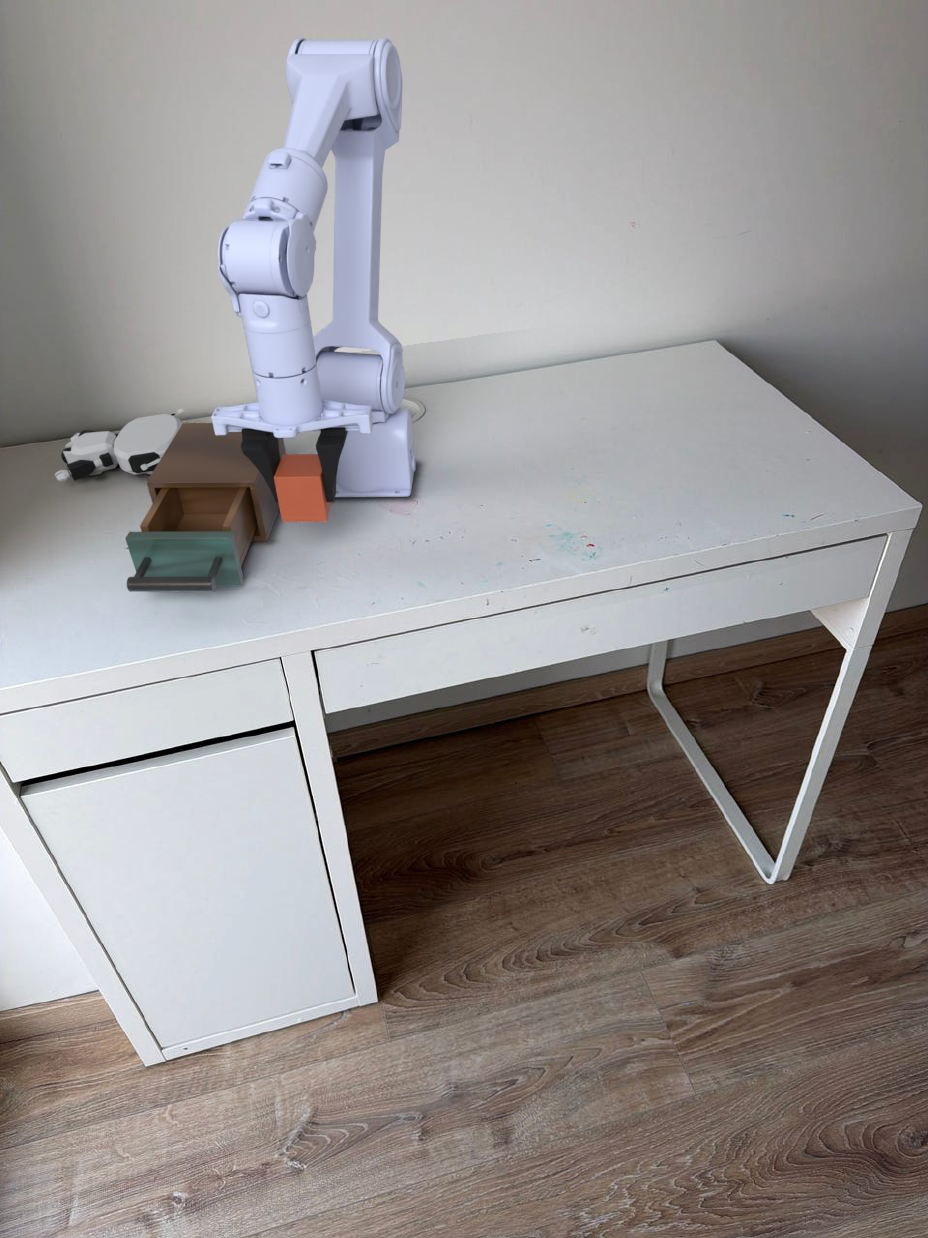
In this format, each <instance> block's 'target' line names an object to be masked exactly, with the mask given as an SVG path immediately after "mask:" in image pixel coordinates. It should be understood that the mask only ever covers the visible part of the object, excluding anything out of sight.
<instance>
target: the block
mask: <svg viewBox="0 0 928 1238" xmlns="http://www.w3.org/2000/svg"><path fill="white" fill-rule="evenodd" d="M274 481H275V486H276V491H277V497H278V502H279V507H280V508H279V512H280V513H279V514H280V518H281V522H282V523H308V522H309V523H310V522H311V523H317V522H319V523H320V522H321V523H324V522H325V523H327V522H328V518H329V515H330V511H331V508H332V504H333V502H327V501H326V496H325V491H324V481H323V473H322V469H321V464H320V460H319V457H318V454H317V453H293V454H292V453H291V454H290V453H288V454H287V453H286V454H283V455H282V458H281V460H280V463H279V465H278V468H277V470H276V473H275V476H274Z"/></svg>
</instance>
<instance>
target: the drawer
mask: <svg viewBox="0 0 928 1238" xmlns="http://www.w3.org/2000/svg"><path fill="white" fill-rule="evenodd" d="M257 525H258V524H257V519H256V514H255V509H254V504H253V500H252V495H251V490H250V487H229V488H162V489H161V490H160V492H159V494H158V495H157V497H156V499H155V501H154V502H153V503H152V504H151V505H150V508H149V509H148V511H147V513H146V514H145V516H144V518H143V520H142V521H141V523H140V524H139V528H140V531H129V532H128V533H127V534H126V536H125V542H126V544H127V548H128V551H129V554H130V558H131V560H132V564H133V566H134V570H135V574H134V575H133V576H128V577H127V579H126V589H127V591H128V592H130V593H131V592H132V593H135V592H141V593H142V592H147V593H151V592H152V593H154V592H155V593H157V592H158V593H159V592H160V593H163V592H165V593H167V592H168V593H169V592H170V593H172V592H174V593H175V592H177V593H179V592H181V593H183V592H185V593H187V592H188V593H189V592H192V593H193V592H199V593H201V592H202V593H203V592H205V593H206V592H207V593H210V592H212V593H213V592H214V591H215V590H216V586H217V587H219V586H223V587H225V586H226V587H227V586H228V587H230V586H235V587H236V586H237V587H238V586H239V587H241V586H242V585H243V581H244V579H245V578H244V573H243V570H242V566H243V563H244V560H245V558H246V555H247V553H248V550H249V548H250V545H251V543H252V541H251V540H252V538H253V535H254V533H255V530H256V528H257Z"/></svg>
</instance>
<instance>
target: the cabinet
mask: <svg viewBox="0 0 928 1238" xmlns="http://www.w3.org/2000/svg"><path fill="white" fill-rule="evenodd" d="M284 439H285V438H278V443H279V452H280V460H281V458H282V455H283V454H287V452H286V451H287V450H286V447H285V446H286V445H285V441H284ZM241 443H242V432H228V433H227V435H215V432H214V427H213V423H212V422H182V425H181V427H180V429H179V430H178V432H177V433H176V435H175V437H174V438H173V440H172V442H171V443H170V445H169V447H168V448H167V450H166V451H165V453H164V455H163V456H162V458H161V460H160V461H159V463H158V465H157V466H156V468H155V469H154V471H153V473H152V474H150V476H149V478H148V479H147V480H146V485H147V488H148V489H147V490H148V493H149V496H150V499H151V503H152V504H153V502H154V501H155V499H156V497H157V495H158V494H159V492H160V490H161V489H162V488H229V487H250V490H251V495H252V500H253V504H254V509H255V514H256V519H257V524H258V525H257V528H256V530H255V533H254V535H253V538H252V540H251V542H268V540H269V538H270V535H271V532H272V529H273V527H274V524H275V521H276V518H277V515H278V514H279V512H280V507H279V503H276V502H275V499H274V497H273V494H272V492H271V490H270V488H269V486H268V484H267V483H266V481H265V479H264V478H263V476H262V475H261V473H260V472H259V470H258V469H257V468H256V466H255V465H254V464H253V463H252V462H251V461H250V460H249V459H248V458H247V457H246V456H245V455H244V454H243V452H242V449H241V446H240V445H241Z"/></svg>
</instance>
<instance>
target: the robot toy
mask: <svg viewBox="0 0 928 1238" xmlns="http://www.w3.org/2000/svg"><path fill="white" fill-rule="evenodd" d="M184 410H185V409H183V408H180V409H177V410H176V411H174V412H171V413H161V414H155V415H148V416H147V415H146V416H141V417H137V418H135V419H133V420H130V421H129V422H127V423H126V424H125V425H124V426H123V427H122V428H121V429H120V431H119V433H113V432H112V431H110V430H106V431H105V430H103V431H98V430H92V429H91V430H90V429H85V430H82V431H80V432H76V433H75V434H73V436H71V437H70V441H69V442H68V443H66V444H65V447H64V449H62V451H61V453H60V458H61V460H62V461H63V463H65V464H66V468H67V469H60V470H58V471H56V472H54V473H55V474H54V477H55V479H56V480H57V481H58V482H66V481H68V480H70V478H72V479H73V481H74V482H75V481H78V480H81V479H83V478H87V477H89V476H96V475H101V474H102V473H103V472H106V471H109V470H113V469H116V468H117V467H118V465H119V467H120V469H121V470H123V471H124V472H126V473H129V474H131V475H134V476H136V475H142V474H147V475H151V474H152V473H153V471H154V469H155V468H156V466H157V465H158V463H159V461H160V460H161V458H162V456H163V455H164V453H165V451H166V450H167V448H168V447H169V445H170V443H171V442H172V440H173V438H174V437H175V435H176V433H177V432H178V430H179V429H180V427H181V425H182V424H183V422H182V421H181V419H180V418H179V417H177V416H176V415H178V414H179V415H180V414H182V413H183V412H184Z"/></svg>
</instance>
